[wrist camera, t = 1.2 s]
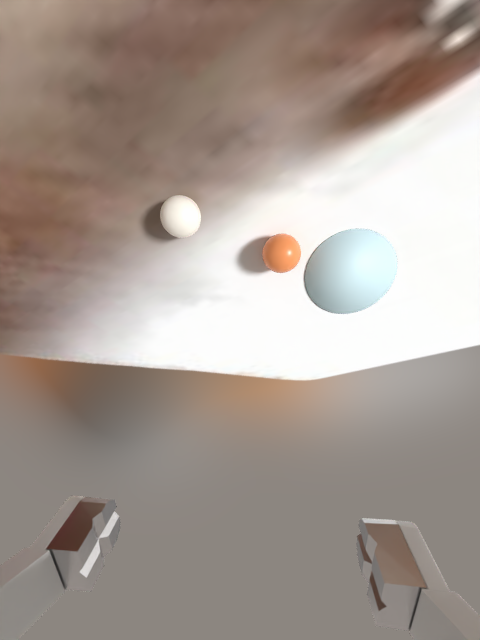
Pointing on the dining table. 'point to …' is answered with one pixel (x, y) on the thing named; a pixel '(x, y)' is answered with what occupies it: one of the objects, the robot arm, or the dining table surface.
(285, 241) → the orange ball
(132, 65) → the dining table surface
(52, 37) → the dining table surface
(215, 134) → the dining table surface
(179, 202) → the cue ball
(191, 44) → the dining table surface
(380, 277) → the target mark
